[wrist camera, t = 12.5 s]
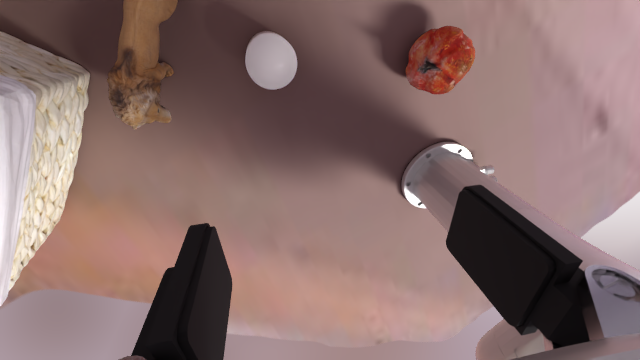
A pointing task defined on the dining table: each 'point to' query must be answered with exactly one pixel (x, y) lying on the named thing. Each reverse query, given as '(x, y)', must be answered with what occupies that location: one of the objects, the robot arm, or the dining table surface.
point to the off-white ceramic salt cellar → (270, 60)
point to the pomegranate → (439, 59)
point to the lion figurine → (140, 64)
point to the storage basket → (35, 147)
